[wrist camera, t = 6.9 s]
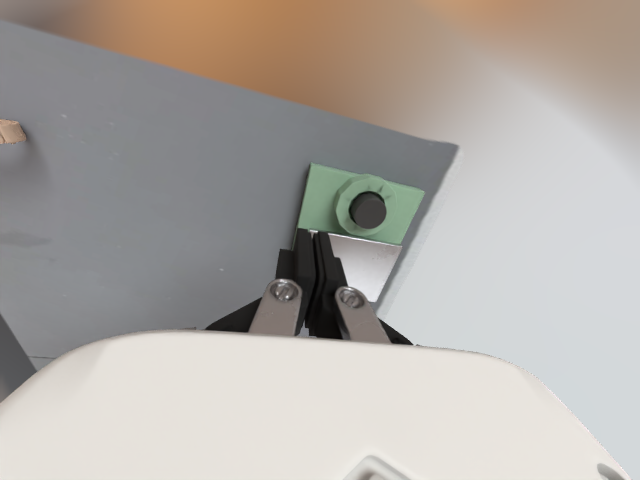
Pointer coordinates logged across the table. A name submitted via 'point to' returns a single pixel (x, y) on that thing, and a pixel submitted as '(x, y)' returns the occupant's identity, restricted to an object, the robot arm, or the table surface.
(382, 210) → the button
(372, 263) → the brushed metal plate
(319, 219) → the scale
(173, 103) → the table surface
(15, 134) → the perforated watch strap
